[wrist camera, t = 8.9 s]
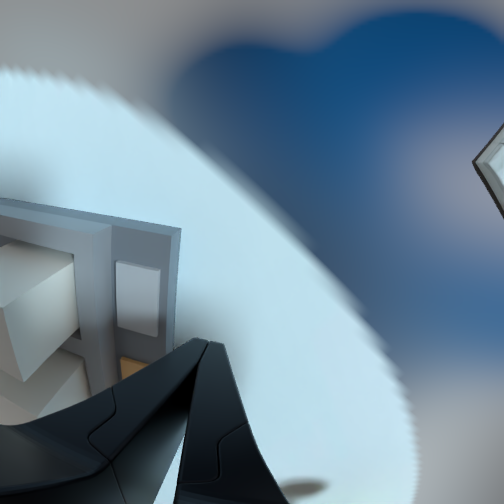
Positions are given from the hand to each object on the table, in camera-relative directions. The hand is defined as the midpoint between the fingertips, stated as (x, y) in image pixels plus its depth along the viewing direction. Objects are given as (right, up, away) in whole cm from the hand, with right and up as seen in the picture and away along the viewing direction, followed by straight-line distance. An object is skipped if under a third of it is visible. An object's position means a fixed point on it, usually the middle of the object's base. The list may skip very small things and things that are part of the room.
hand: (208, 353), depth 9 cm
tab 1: (-7, +2, +2) cm, 7 cm away
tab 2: (-7, -2, +4) cm, 8 cm away
